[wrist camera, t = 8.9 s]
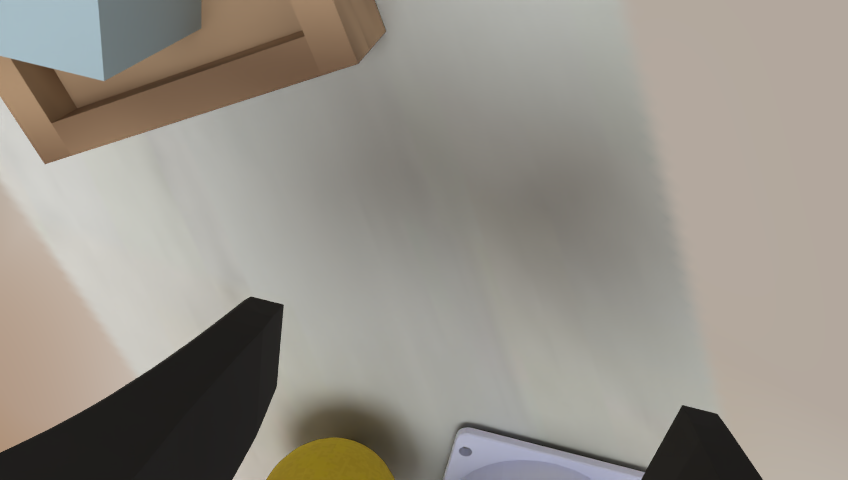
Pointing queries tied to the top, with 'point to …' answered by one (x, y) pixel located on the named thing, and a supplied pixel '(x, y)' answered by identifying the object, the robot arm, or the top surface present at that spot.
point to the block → (93, 32)
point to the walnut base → (190, 72)
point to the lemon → (331, 462)
